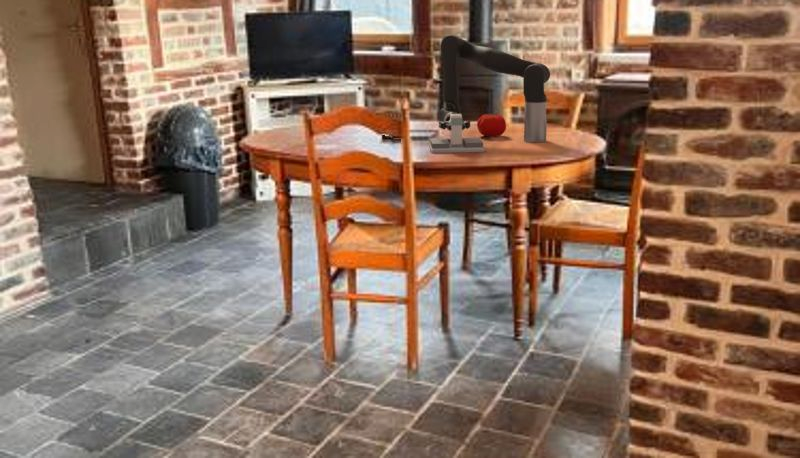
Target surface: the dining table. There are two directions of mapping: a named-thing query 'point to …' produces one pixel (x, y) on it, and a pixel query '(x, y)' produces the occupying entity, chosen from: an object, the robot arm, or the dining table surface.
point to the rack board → (456, 145)
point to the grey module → (456, 129)
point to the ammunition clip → (389, 136)
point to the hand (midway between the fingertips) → (456, 127)
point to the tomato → (491, 125)
